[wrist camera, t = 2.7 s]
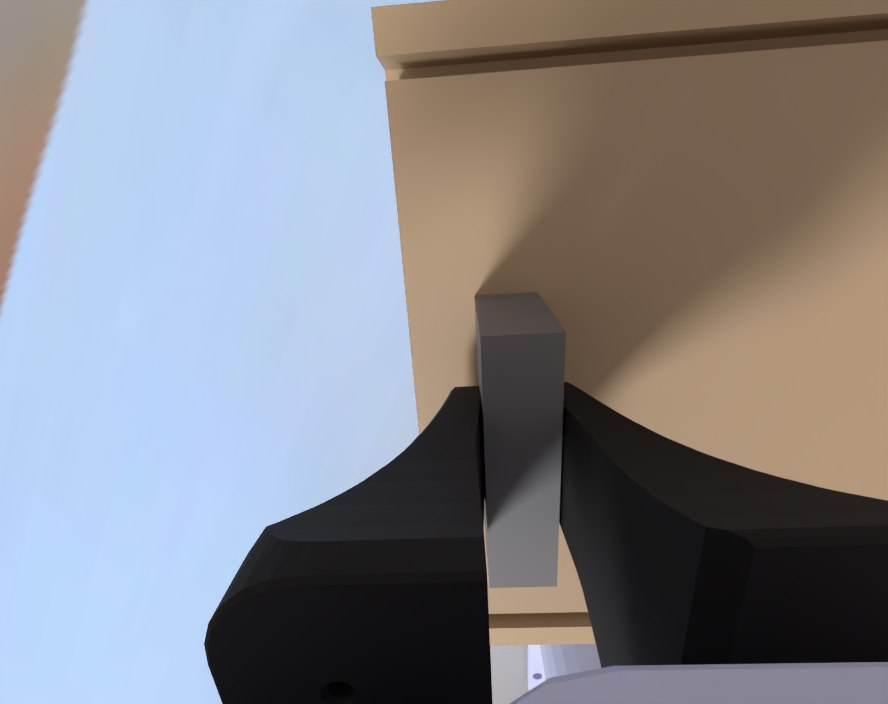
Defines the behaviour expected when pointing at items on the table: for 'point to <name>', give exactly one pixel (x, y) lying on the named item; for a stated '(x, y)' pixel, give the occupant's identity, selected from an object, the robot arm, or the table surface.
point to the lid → (649, 271)
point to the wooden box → (595, 42)
